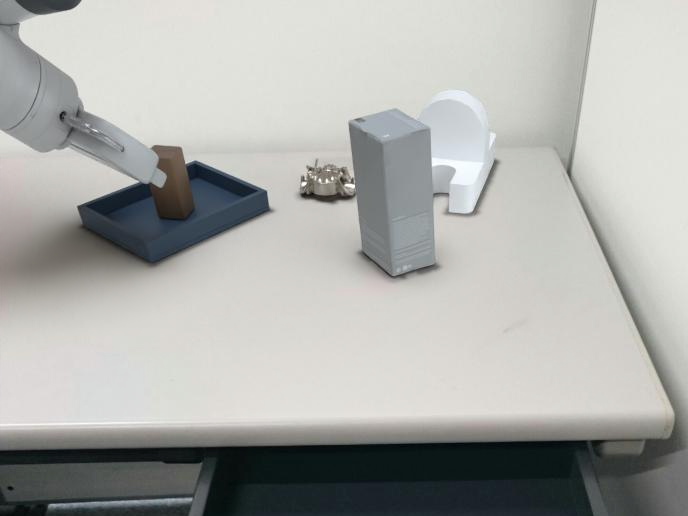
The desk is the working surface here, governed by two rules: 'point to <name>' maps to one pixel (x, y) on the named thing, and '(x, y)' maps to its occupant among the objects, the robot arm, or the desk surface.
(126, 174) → the robot arm
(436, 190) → the bracket
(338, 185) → the ornament
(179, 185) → the wooden block
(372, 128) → the cosmetic box
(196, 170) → the tray
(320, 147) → the desk surface
